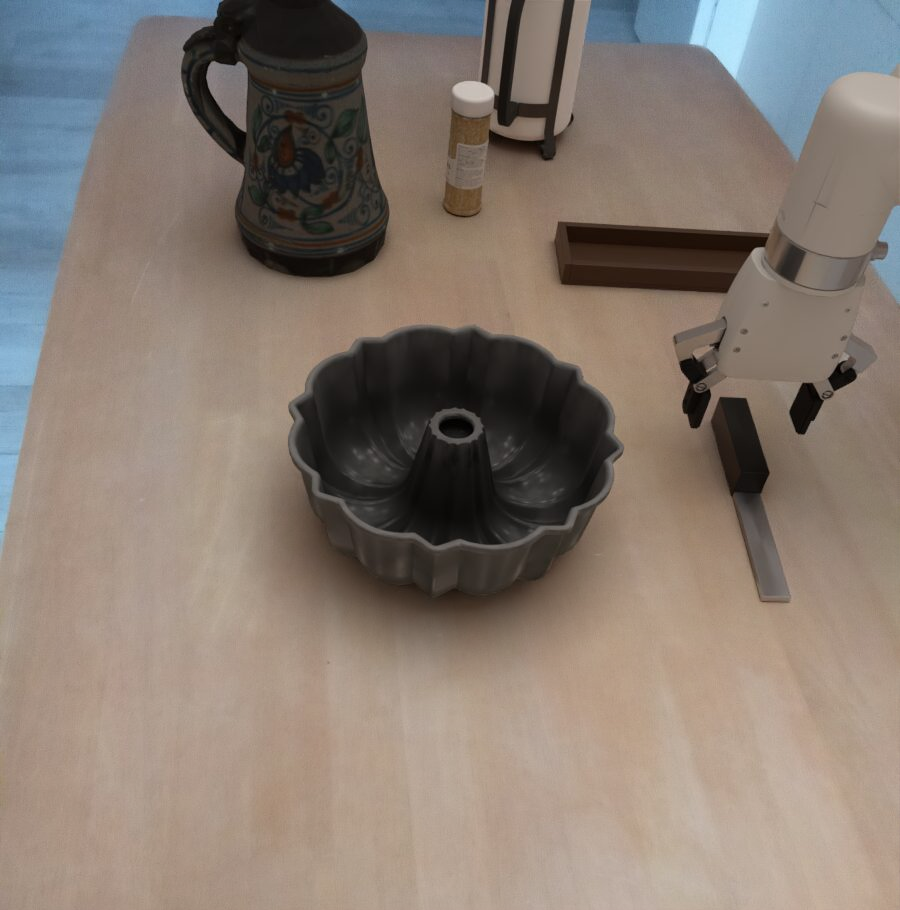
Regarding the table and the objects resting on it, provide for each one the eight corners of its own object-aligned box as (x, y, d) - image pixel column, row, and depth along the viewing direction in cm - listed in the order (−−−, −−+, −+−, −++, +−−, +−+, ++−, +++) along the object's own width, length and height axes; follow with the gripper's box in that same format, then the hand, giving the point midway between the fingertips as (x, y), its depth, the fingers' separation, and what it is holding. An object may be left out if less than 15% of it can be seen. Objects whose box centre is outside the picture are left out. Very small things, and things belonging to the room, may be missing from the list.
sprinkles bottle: (444, 194, 119) (453, 76, 108) (483, 198, 119) (496, 81, 108) (441, 215, 116) (450, 97, 106) (480, 220, 116) (493, 102, 106)
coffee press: (436, 111, 131) (455, -171, 107) (547, 97, 136) (588, -177, 112) (491, 181, 121) (525, -112, 98) (608, 163, 126) (667, -121, 103)
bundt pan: (269, 426, 92) (261, 336, 85) (542, 393, 98) (559, 305, 90) (324, 661, 77) (321, 577, 69) (644, 604, 83) (675, 521, 75)
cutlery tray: (792, 254, 117) (800, 234, 115) (809, 296, 112) (818, 277, 110) (554, 241, 115) (557, 221, 113) (561, 284, 110) (565, 263, 108)
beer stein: (412, 262, 110) (426, 15, 90) (238, 298, 104) (212, 41, 84) (354, 184, 119) (355, -57, 99) (191, 213, 112) (157, -38, 93)
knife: (710, 420, 98) (719, 396, 95) (737, 421, 98) (746, 397, 95) (759, 601, 84) (771, 578, 82) (790, 602, 84) (803, 579, 82)
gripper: (909, 232, 81) (826, 399, 94) (697, 216, 79) (643, 388, 93) (940, 288, 76) (848, 455, 90) (715, 272, 75) (655, 445, 88)
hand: (744, 421), depth 91 cm, fingers open, 9 cm apart
